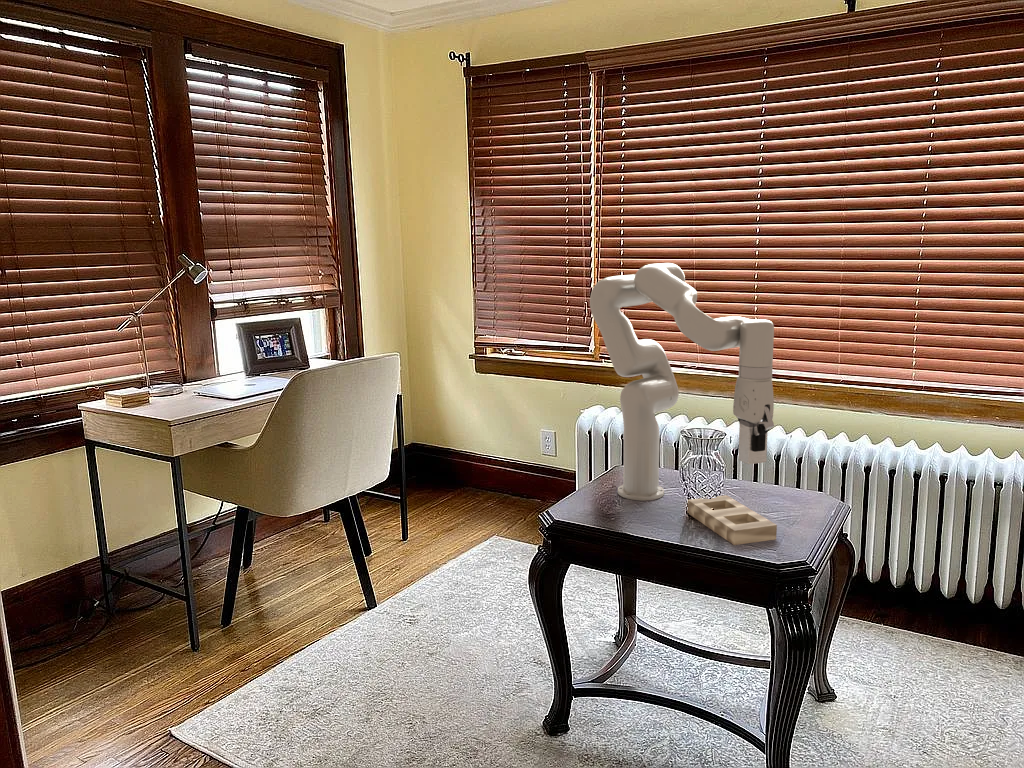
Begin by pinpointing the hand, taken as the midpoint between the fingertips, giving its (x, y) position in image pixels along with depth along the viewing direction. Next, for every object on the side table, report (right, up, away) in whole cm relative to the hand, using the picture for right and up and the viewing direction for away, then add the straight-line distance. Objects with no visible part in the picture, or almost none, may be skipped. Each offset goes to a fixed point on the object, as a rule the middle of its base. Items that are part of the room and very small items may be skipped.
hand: (752, 447), depth 190 cm
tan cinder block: (-4, -19, +3) cm, 20 cm away
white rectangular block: (0, -3, +1) cm, 3 cm away
